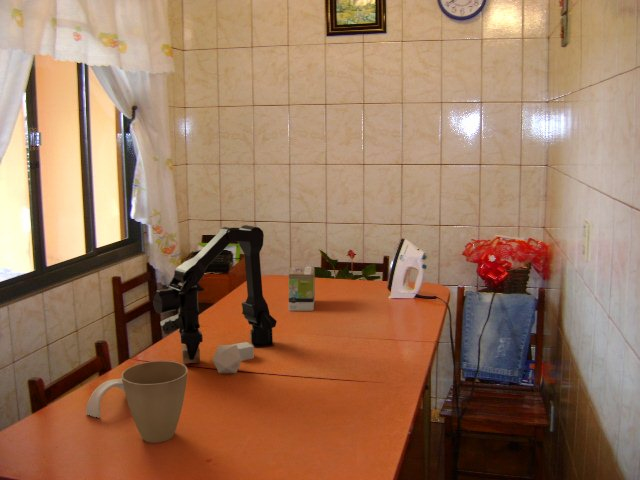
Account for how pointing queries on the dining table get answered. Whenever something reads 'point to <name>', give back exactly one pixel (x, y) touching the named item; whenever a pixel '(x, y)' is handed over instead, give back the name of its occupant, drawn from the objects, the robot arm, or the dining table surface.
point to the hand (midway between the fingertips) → (191, 356)
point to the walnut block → (186, 356)
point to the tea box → (301, 288)
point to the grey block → (245, 350)
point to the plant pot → (155, 397)
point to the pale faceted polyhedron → (227, 359)
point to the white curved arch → (97, 395)
